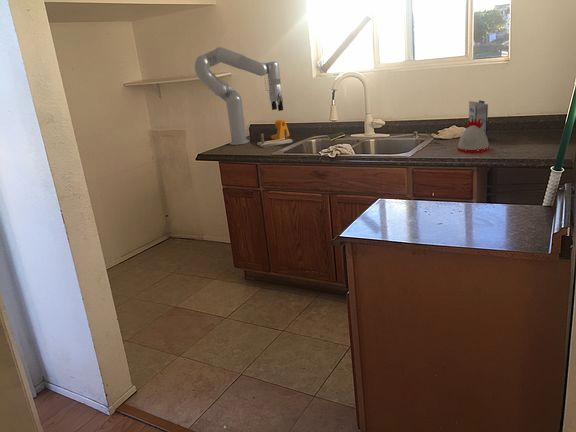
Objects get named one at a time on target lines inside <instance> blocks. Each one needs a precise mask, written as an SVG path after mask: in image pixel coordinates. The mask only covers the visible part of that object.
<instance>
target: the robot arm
mask: <svg viewBox="0 0 576 432" xmlns="http://www.w3.org/2000/svg"><path fill="white" fill-rule="evenodd" d="M218 64H224V65H227V66H230V67H232V68H235V69H239V70H241V71H242V70H243V71H245V72H248V73H251V74H254V75H256V76H259V77H261V76H265V75H267V81H268V93H269V95H268V96H269V101H270V103H271V110H272V111H274V110H275V111H276V110H278V112H281V111H284V103H283V99H284V97H283V93H282V87H281V84H282V82H281V76H280V75H281V73H280V64H279V62H278V61H269V62H260V61H258V60H254V59H252V58H250V57H247V56H245V55H243V54H241V53H238V52H236V51H233V50H230V49H227V48H224V47H221V46H218V47H216V48H215V49H212V50H210V51H208V52H207V53H203V54H201V55H199V56H197V57H196V59H195V63H194V72H195V74H196V77H197V78H198V79H199V81H201V83H203V84H204V85H205V86H206V87H207V88H208V89H209V90H210V91H212V92H213V93H214V95H216V96H218V97H219V98H221V99H222V100H223V101H224V102H225V104H226V109H227V117H228V125H229V130H230V131H229V132H230V139H231V141H230V142H229V145H232V146H238V145H239V146H240V145H245V144H248V143H249V142H250V140H249V139H248V138H247V133H246V126H245V118H244V110H243V99H242V97H241V94H240V93H239V92H238V91H236V90H235V89H234V88H233V87H232V86H231V85H230V84H228V83H227V82H226V81H225V80H221V79H220V78H219V77H218V76H217V75H216V74H215V73H213V72H212V71H211V69H210V68H212V67H214V66H216V65H218ZM276 102H277V103H276Z"/></svg>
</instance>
